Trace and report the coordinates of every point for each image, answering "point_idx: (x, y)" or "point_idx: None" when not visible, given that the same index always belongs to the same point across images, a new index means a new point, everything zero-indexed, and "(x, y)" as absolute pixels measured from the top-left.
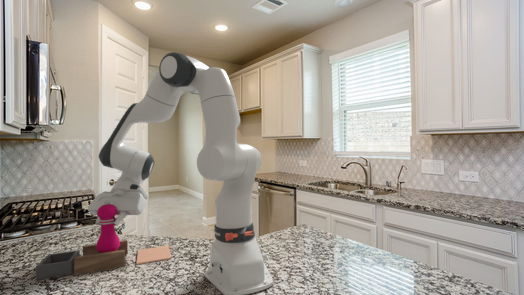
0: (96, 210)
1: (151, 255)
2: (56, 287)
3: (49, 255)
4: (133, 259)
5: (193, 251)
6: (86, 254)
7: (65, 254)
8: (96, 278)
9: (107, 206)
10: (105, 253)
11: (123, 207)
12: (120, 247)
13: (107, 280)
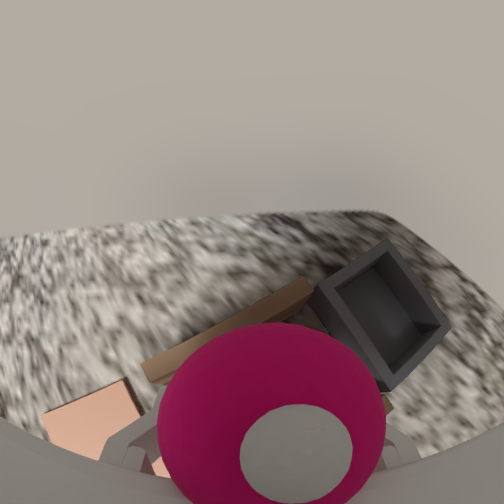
0: (446, 451)
1: None
2: (273, 226)
3: (440, 321)
4: None
5: None
6: None
7: (412, 354)
8: (197, 278)
9: (223, 379)
10: (209, 334)
11: (85, 478)
12: None
13: (154, 268)
